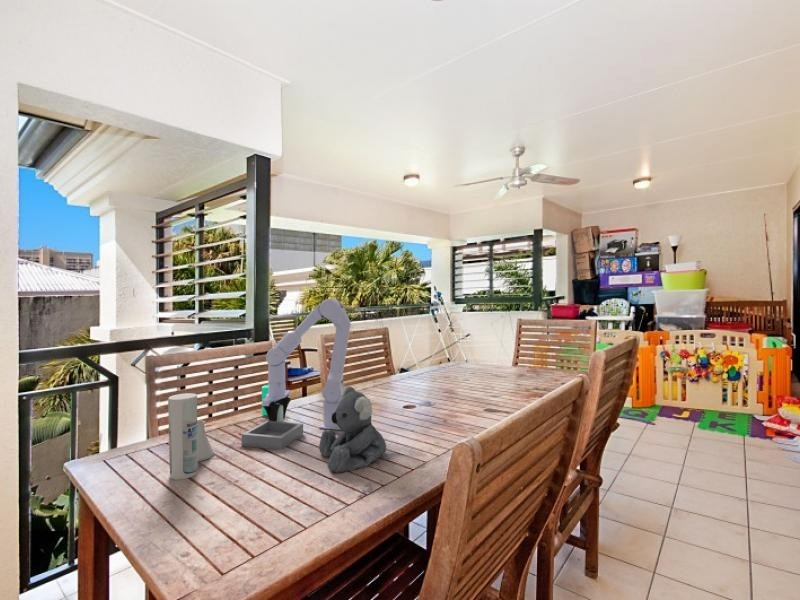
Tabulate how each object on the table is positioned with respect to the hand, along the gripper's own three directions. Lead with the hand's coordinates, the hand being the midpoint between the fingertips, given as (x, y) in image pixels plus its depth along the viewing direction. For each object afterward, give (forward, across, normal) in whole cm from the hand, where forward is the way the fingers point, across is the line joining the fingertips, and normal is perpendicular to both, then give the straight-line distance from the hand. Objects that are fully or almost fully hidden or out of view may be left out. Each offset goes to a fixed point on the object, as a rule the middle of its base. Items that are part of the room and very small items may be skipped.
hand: (277, 421), depth 140 cm
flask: (+2, +29, -7) cm, 30 cm away
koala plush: (+2, +19, +36) cm, 41 cm away
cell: (+2, 0, 0) cm, 2 cm away
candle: (+2, -13, -11) cm, 17 cm away
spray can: (+2, +39, -3) cm, 39 cm away
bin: (+2, +12, +6) cm, 14 cm away
